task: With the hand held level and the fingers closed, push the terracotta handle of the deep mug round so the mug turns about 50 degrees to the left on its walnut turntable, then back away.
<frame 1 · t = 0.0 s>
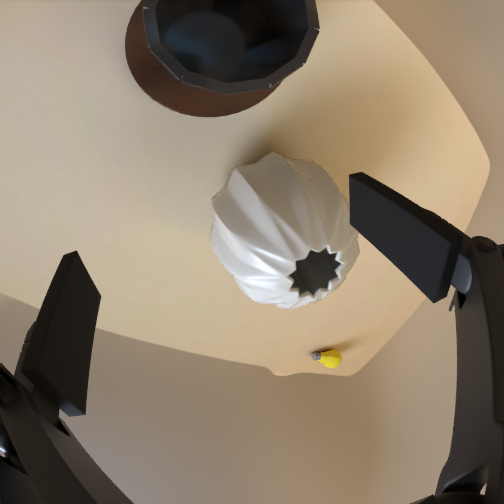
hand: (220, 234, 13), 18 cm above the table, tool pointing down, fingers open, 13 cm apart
mug: (237, 6, 17), point 6 cm above the table, hinge at 0.0°
vase: (265, 205, 34), on the table
light bulb: (323, 351, 52), on the table
turntable: (211, 39, 23), on the table
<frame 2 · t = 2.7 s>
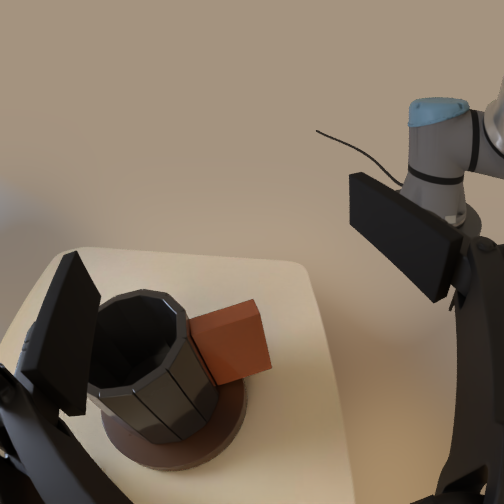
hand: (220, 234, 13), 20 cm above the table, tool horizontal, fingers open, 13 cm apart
mug: (167, 369, 24), point 6 cm above the table, hinge at 0.0°
turntable: (171, 401, 27), on the table
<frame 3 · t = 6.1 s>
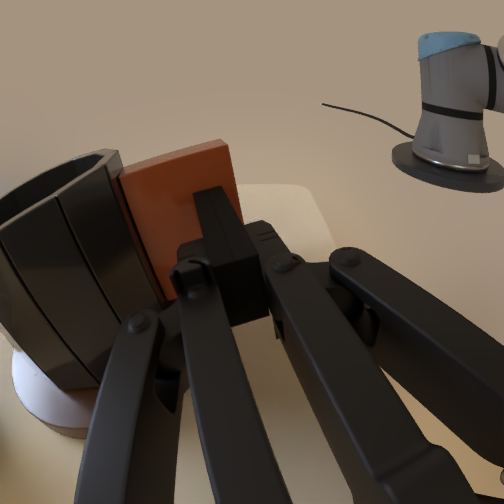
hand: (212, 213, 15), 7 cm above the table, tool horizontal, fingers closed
mug: (87, 257, 15), point 6 cm above the table, hinge at 2.1°, touching gripper
turntable: (105, 336, 18), on the table
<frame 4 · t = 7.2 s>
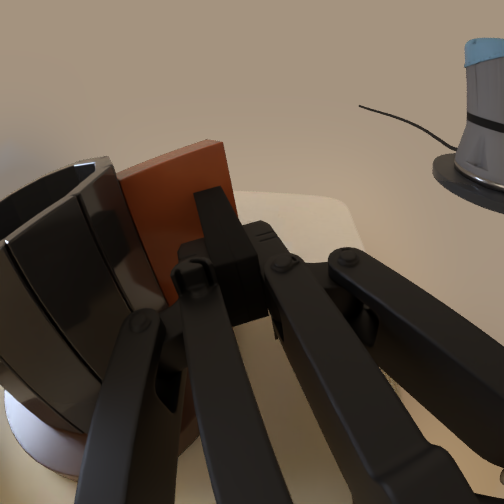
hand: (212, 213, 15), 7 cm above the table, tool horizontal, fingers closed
mug: (84, 277, 13), point 6 cm above the table, hinge at 27.0°, touching gripper
turntable: (104, 366, 16), on the table
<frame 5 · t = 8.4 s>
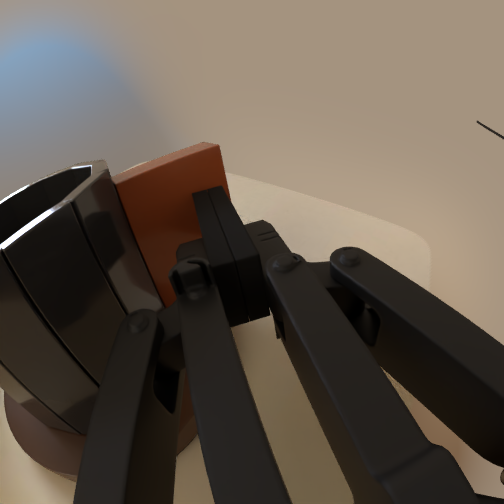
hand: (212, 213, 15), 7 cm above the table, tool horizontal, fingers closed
mug: (81, 280, 13), point 6 cm above the table, hinge at 49.9°, touching gripper
turntable: (102, 367, 16), on the table
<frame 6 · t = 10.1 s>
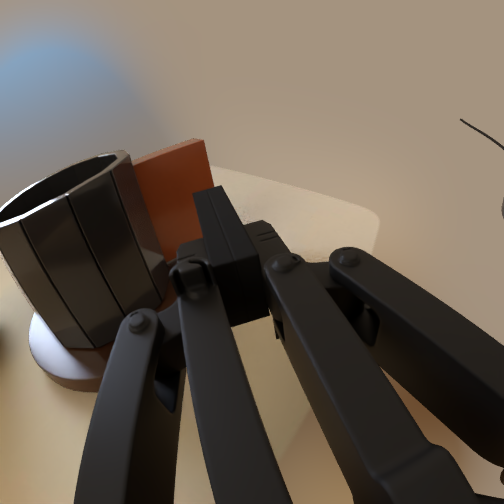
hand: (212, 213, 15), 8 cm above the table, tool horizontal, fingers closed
mug: (104, 233, 19), point 6 cm above the table, hinge at 49.9°
turntable: (113, 309, 22), on the table
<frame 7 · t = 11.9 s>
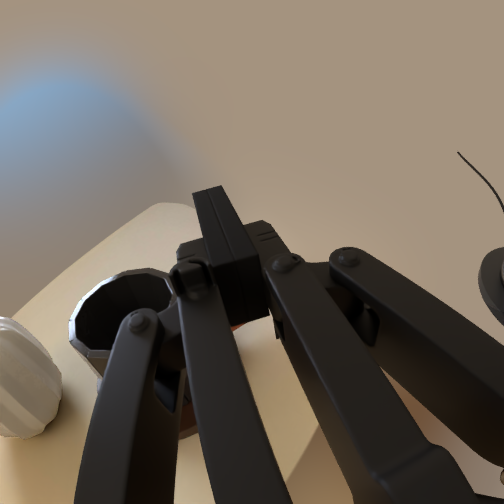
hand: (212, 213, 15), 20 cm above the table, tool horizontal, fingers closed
mug: (161, 335, 27), point 6 cm above the table, hinge at 49.9°
vase: (36, 407, 26), on the table
turntable: (164, 378, 30), on the table
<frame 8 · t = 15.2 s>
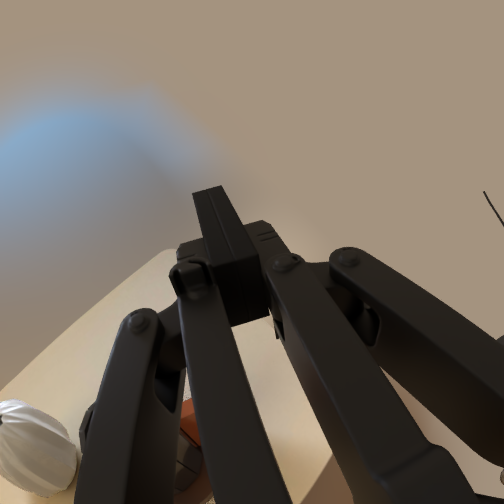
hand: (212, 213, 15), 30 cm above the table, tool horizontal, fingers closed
mug: (159, 443, 26), point 6 cm above the table, hinge at 49.9°
vase: (54, 465, 27), on the table
turntable: (164, 461, 30), on the table
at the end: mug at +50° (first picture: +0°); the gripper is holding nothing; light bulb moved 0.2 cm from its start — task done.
